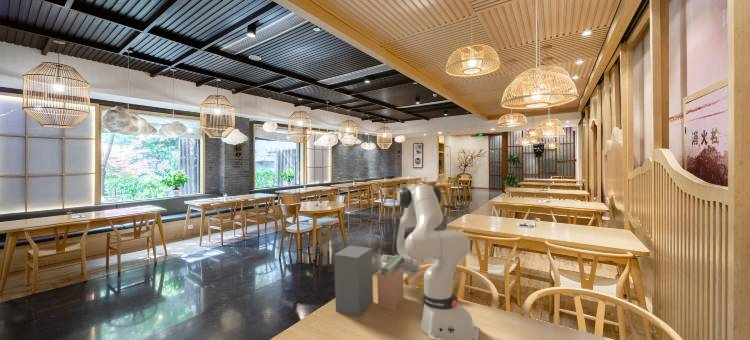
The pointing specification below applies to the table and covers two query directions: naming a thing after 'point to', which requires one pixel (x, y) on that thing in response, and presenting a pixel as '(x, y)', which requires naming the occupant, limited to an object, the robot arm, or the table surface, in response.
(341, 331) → the table surface
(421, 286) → the candy box
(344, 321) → the table surface
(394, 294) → the terracotta block
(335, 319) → the table surface
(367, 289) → the tall grey pillar
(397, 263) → the sage bar
